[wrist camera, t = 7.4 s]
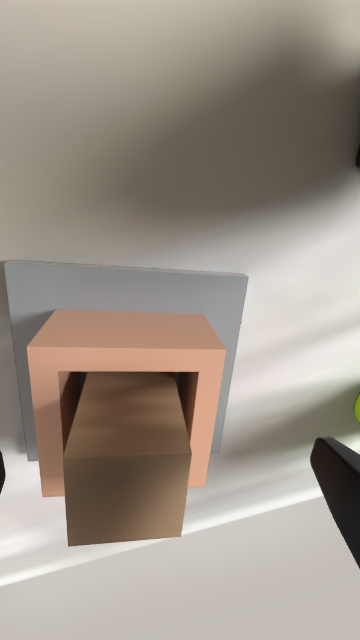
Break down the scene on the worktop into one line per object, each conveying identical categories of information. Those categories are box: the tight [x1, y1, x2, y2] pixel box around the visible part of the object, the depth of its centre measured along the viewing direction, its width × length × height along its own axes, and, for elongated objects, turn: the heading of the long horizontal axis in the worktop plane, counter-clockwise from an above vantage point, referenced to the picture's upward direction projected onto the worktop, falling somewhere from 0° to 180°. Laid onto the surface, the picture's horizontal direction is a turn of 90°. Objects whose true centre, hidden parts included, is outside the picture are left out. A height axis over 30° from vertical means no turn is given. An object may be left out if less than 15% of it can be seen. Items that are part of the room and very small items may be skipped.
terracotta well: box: [4, 260, 248, 497], centre depth 18 cm, size 14×14×6 cm
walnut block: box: [63, 371, 192, 546], centre depth 15 cm, size 4×4×9 cm
